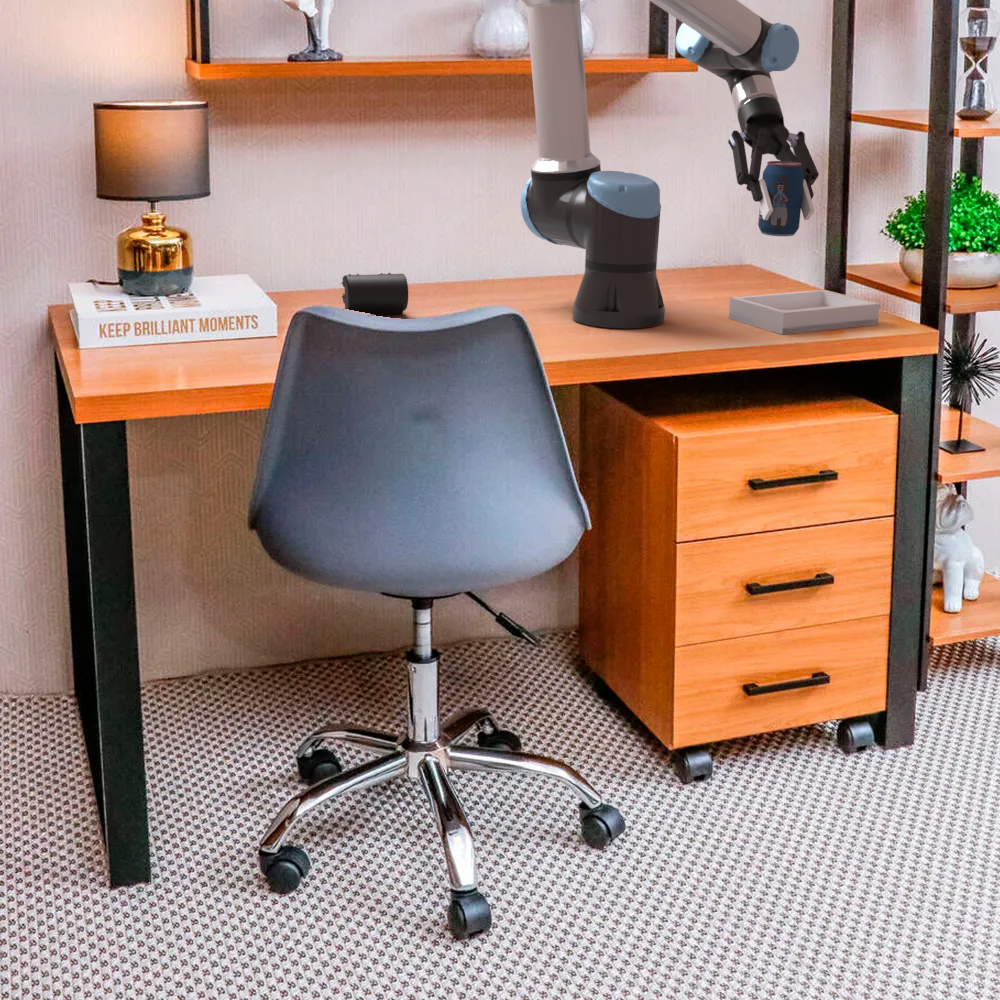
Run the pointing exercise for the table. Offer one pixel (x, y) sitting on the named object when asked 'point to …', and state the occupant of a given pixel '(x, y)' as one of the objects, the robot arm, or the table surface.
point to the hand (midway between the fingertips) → (788, 214)
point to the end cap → (376, 293)
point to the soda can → (783, 198)
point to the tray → (803, 311)
